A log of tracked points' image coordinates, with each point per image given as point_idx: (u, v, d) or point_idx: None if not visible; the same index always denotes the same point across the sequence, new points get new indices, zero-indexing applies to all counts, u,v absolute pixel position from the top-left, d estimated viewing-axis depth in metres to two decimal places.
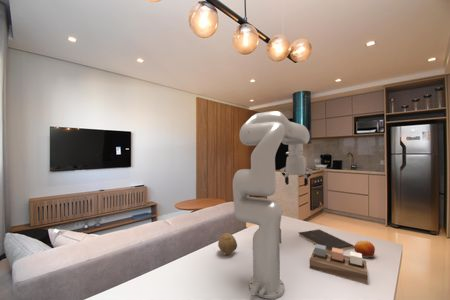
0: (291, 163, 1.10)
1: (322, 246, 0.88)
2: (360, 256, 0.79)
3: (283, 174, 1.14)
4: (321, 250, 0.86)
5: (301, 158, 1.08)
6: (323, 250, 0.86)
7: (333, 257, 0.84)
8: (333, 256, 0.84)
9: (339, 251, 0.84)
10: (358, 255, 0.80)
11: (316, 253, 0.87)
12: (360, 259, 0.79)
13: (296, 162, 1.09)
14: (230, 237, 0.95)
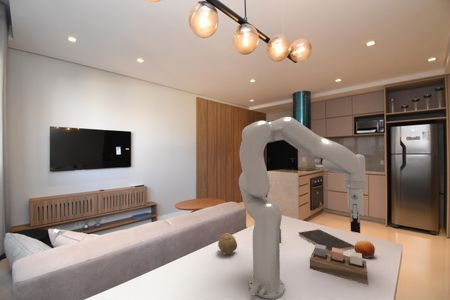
0: None
1: (322, 246, 0.88)
2: (360, 256, 0.79)
3: (357, 219, 0.78)
4: (321, 250, 0.86)
5: None
6: (323, 250, 0.86)
7: (333, 257, 0.84)
8: (333, 256, 0.84)
9: (339, 251, 0.84)
10: (358, 255, 0.80)
11: (316, 253, 0.87)
12: (360, 259, 0.79)
13: None
14: (230, 237, 0.95)
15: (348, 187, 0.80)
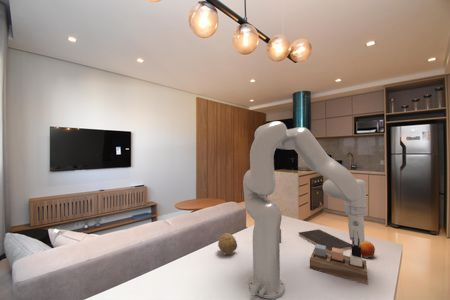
0: None
1: (322, 246, 0.88)
2: (360, 257, 0.79)
3: None
4: (321, 250, 0.86)
5: None
6: (323, 250, 0.86)
7: (333, 257, 0.84)
8: (333, 256, 0.84)
9: (339, 251, 0.84)
10: None
11: (316, 253, 0.87)
12: (360, 260, 0.79)
13: None
14: (230, 237, 0.95)
15: (349, 213, 0.80)
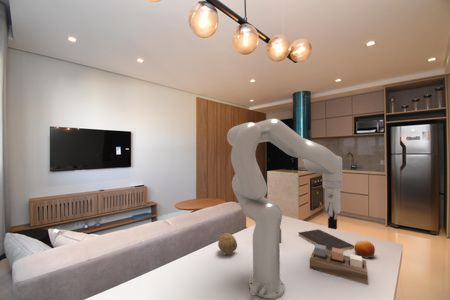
0: (339, 198, 0.83)
1: (322, 246, 0.88)
2: (360, 259, 0.79)
3: (333, 216, 0.83)
4: (321, 250, 0.86)
5: None
6: (323, 250, 0.86)
7: (333, 257, 0.84)
8: (333, 256, 0.84)
9: (339, 251, 0.84)
10: (358, 258, 0.80)
11: (316, 253, 0.87)
12: (360, 262, 0.79)
13: None
14: (230, 237, 0.95)
15: (326, 186, 0.84)
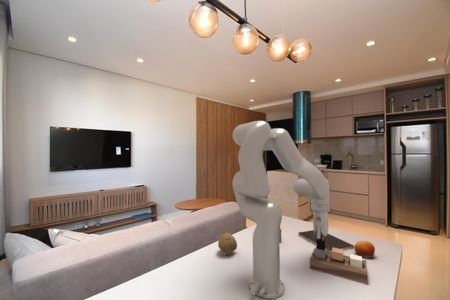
0: (326, 220, 0.85)
1: None
2: (360, 259, 0.79)
3: (321, 238, 0.86)
4: (321, 252, 0.86)
5: None
6: (323, 252, 0.86)
7: (333, 257, 0.84)
8: (333, 256, 0.84)
9: (339, 251, 0.84)
10: (358, 258, 0.80)
11: (316, 255, 0.87)
12: (360, 262, 0.79)
13: (327, 217, 0.88)
14: (230, 237, 0.95)
15: (313, 209, 0.87)
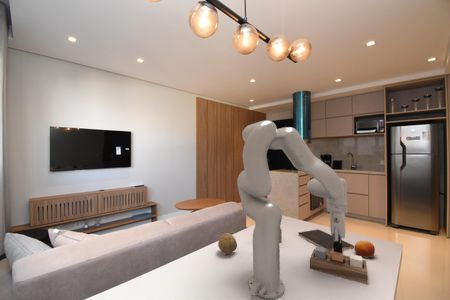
0: (344, 222, 0.82)
1: (322, 249, 0.88)
2: (360, 259, 0.79)
3: None
4: (321, 253, 0.86)
5: None
6: (323, 253, 0.86)
7: (333, 258, 0.84)
8: (333, 257, 0.84)
9: None
10: (358, 258, 0.80)
11: (316, 256, 0.87)
12: (360, 262, 0.79)
13: None
14: (230, 237, 0.95)
15: (330, 210, 0.83)
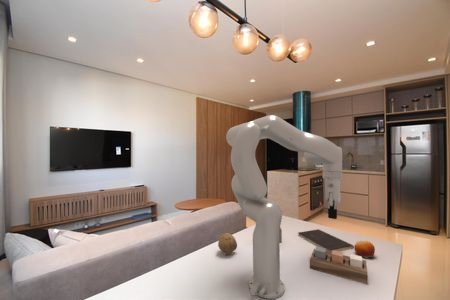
0: (339, 188, 0.84)
1: (322, 249, 0.88)
2: (360, 259, 0.79)
3: (334, 206, 0.84)
4: (321, 253, 0.86)
5: None
6: (323, 253, 0.86)
7: (333, 260, 0.84)
8: (333, 259, 0.84)
9: (339, 254, 0.84)
10: (358, 258, 0.80)
11: (316, 256, 0.87)
12: (360, 262, 0.79)
13: None
14: (230, 237, 0.95)
15: (326, 177, 0.85)
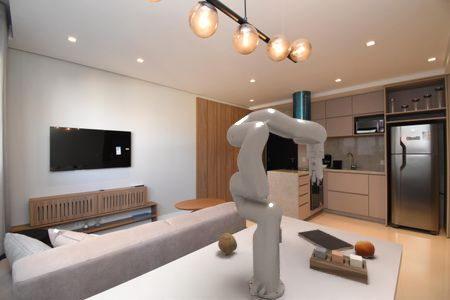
0: (321, 166, 0.93)
1: (322, 249, 0.88)
2: (360, 259, 0.79)
3: (316, 182, 0.93)
4: (321, 253, 0.86)
5: None
6: (323, 253, 0.86)
7: (333, 260, 0.84)
8: (333, 259, 0.84)
9: (339, 254, 0.84)
10: (358, 258, 0.80)
11: (316, 256, 0.87)
12: (360, 262, 0.79)
13: None
14: (230, 237, 0.95)
15: (309, 157, 0.95)
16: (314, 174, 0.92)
